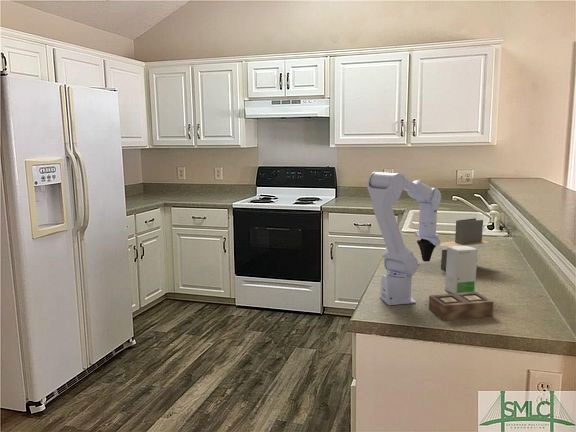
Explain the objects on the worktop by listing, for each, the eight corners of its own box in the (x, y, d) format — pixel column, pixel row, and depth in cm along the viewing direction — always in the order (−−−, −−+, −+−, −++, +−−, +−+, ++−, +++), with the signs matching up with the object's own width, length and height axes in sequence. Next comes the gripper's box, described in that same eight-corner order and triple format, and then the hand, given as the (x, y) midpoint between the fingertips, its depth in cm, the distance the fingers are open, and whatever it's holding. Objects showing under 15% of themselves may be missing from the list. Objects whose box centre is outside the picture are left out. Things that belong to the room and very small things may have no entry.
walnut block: (443, 320, 141) (444, 305, 140) (428, 309, 149) (429, 294, 148) (492, 315, 144) (493, 300, 143) (475, 305, 152) (476, 291, 151)
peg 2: (469, 313, 145) (470, 300, 144) (462, 309, 149) (463, 296, 148) (481, 312, 146) (482, 299, 145) (474, 308, 149) (474, 295, 149)
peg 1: (445, 316, 143) (445, 302, 143) (438, 311, 147) (439, 298, 146) (457, 314, 144) (458, 301, 143) (450, 310, 148) (451, 297, 147)
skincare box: (455, 295, 162) (457, 250, 159) (443, 289, 168) (445, 246, 165) (476, 293, 164) (478, 248, 161) (463, 287, 170) (466, 244, 167)
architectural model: (446, 284, 175) (449, 231, 171) (402, 266, 197) (404, 219, 194) (520, 270, 191) (524, 221, 187) (472, 255, 213) (474, 212, 210)
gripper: (449, 225, 157) (447, 265, 160) (428, 218, 171) (427, 254, 174) (429, 227, 156) (427, 267, 158) (410, 219, 170) (408, 256, 172)
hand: (426, 260), depth 166 cm, fingers closed
